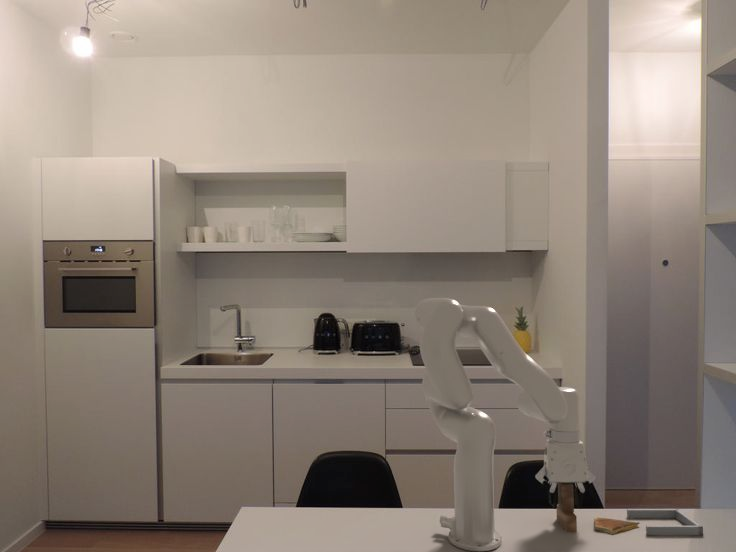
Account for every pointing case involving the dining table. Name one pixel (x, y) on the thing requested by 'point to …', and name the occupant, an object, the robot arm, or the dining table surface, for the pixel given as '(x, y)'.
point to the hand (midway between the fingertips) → (566, 505)
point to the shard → (613, 525)
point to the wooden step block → (566, 507)
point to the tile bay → (689, 529)
